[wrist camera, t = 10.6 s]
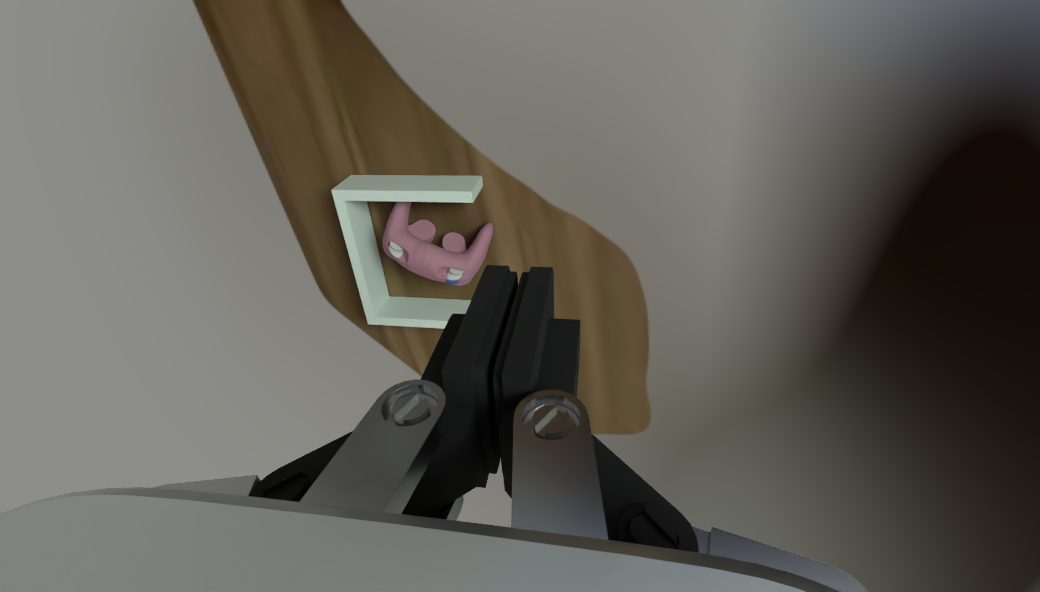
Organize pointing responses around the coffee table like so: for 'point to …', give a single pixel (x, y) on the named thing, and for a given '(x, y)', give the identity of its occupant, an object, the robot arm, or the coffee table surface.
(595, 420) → the coffee table surface
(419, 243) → the video game controller
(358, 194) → the box
